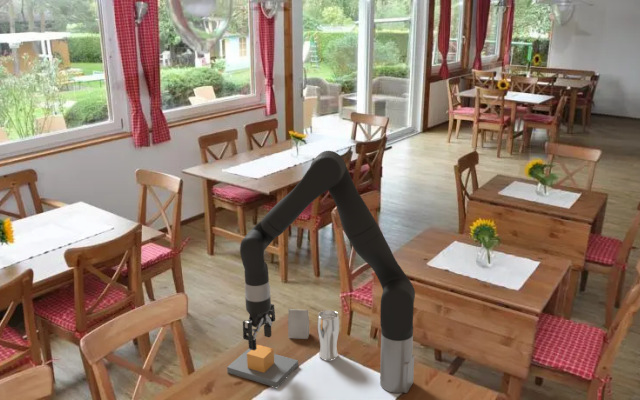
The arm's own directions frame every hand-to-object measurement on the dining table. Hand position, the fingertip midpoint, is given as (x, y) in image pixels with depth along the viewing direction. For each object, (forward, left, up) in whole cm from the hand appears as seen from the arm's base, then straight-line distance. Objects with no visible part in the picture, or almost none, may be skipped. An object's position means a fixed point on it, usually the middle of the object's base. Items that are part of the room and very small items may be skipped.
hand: (260, 342), depth 182 cm
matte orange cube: (0, 0, -8) cm, 8 cm away
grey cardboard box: (0, -24, -10) cm, 26 cm away
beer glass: (-15, -17, -10) cm, 25 cm away
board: (0, -1, -10) cm, 10 cm away
